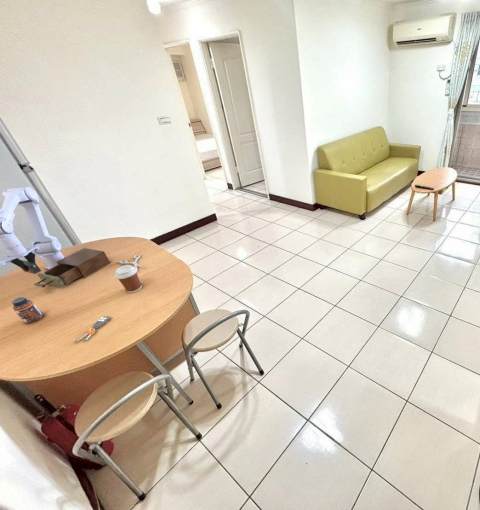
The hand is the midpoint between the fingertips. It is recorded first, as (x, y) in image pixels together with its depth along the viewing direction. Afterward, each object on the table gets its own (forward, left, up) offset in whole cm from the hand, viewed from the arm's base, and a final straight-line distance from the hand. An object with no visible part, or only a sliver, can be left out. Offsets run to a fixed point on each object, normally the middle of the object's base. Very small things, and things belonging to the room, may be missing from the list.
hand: (30, 268), depth 134 cm
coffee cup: (+48, +10, -11) cm, 50 cm away
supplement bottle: (+23, -18, -11) cm, 31 cm away
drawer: (+7, +5, -9) cm, 13 cm away
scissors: (+30, +27, -10) cm, 41 cm away
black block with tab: (0, 0, -1) cm, 1 cm away
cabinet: (+7, +17, -10) cm, 22 cm away
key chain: (+55, -16, -11) cm, 58 cm away
